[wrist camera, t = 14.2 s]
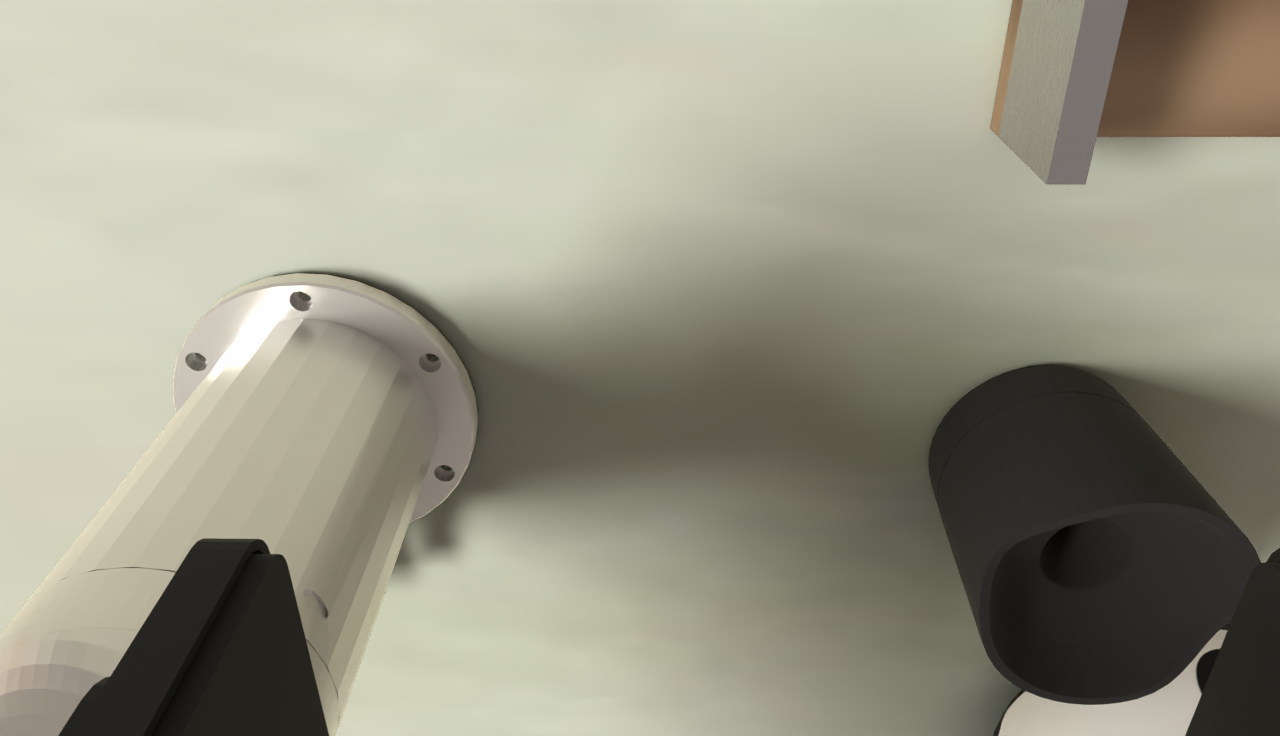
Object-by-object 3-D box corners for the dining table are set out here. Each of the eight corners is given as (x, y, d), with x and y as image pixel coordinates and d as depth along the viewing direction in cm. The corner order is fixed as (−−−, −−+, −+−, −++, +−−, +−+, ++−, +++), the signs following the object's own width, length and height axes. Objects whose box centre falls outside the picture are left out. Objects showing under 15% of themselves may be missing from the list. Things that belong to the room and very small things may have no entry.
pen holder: (888, 401, 41) (947, 559, 33) (1113, 318, 39) (1240, 464, 31) (951, 556, 46) (1019, 732, 37) (1157, 489, 44) (1281, 659, 35)
